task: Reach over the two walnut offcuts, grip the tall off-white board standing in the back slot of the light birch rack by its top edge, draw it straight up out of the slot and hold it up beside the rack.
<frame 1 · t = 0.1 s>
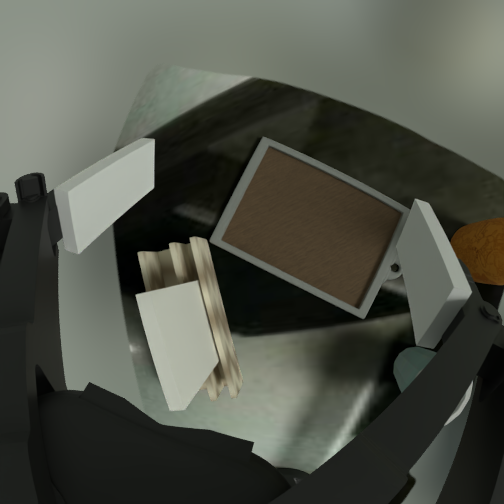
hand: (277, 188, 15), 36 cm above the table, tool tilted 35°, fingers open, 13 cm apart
rack: (195, 318, 52), on the table
picture frame: (321, 230, 51), on the table
wine bottle: (467, 252, 47), on the table
tall sheet: (211, 316, 51), point 1 cm above the table, touching rack
disposable coffee cup: (409, 365, 48), on the table
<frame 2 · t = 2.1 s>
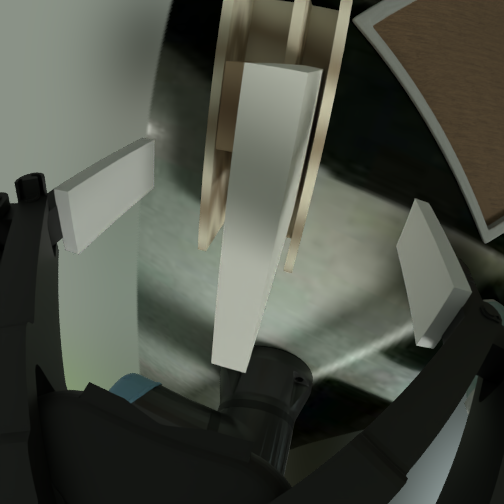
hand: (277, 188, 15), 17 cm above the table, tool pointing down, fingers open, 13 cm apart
rack: (273, 119, 29), on the table
tall sheet: (303, 128, 28), point 1 cm above the table, touching rack
disposable coffee cup: (480, 316, 36), on the table
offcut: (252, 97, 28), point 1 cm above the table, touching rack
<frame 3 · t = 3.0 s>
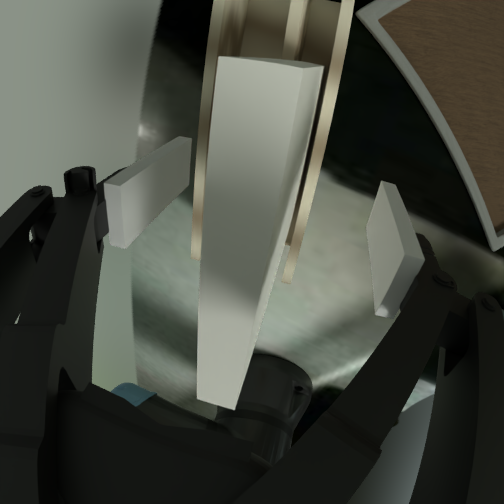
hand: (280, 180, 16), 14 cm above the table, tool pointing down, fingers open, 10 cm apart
rack: (271, 120, 28), on the table
tall sheet: (303, 129, 26), point 1 cm above the table, touching rack
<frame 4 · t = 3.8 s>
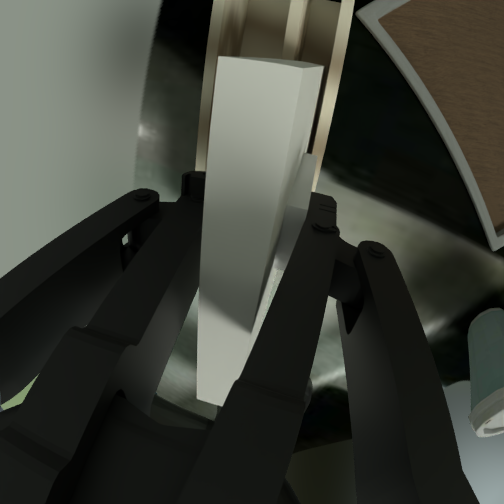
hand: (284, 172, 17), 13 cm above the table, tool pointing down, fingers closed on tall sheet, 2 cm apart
rack: (271, 120, 28), on the table
tall sheet: (303, 129, 26), point 1 cm above the table, touching gripper, rack
disposable coffee cup: (486, 324, 34), on the table
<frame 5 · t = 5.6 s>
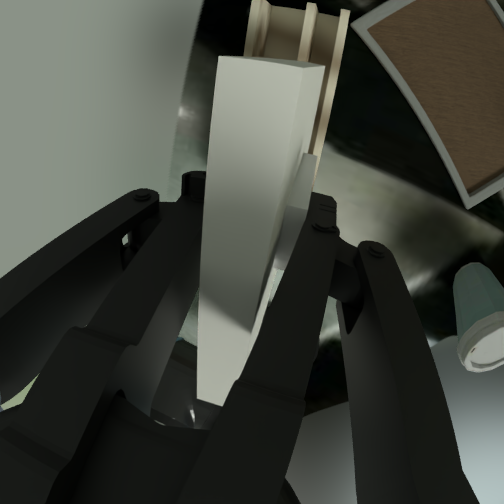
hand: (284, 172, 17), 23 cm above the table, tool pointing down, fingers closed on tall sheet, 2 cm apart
rack: (287, 104, 35), on the table
picture frame: (478, 92, 28), on the table
tall sheet: (303, 129, 26), point 11 cm above the table, touching gripper
disposable coffee cup: (469, 278, 42), on the table
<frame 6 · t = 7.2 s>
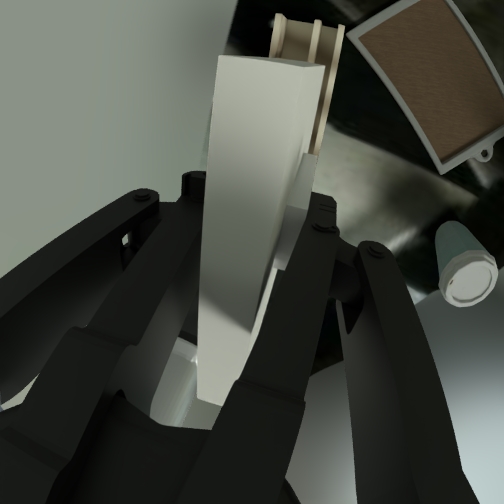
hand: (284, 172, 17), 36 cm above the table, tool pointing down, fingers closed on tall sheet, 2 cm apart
rack: (298, 94, 46), on the table
picture frame: (446, 83, 39), on the table
tall sheet: (303, 128, 26), point 24 cm above the table, touching gripper
disposable coffee cup: (449, 235, 52), on the table
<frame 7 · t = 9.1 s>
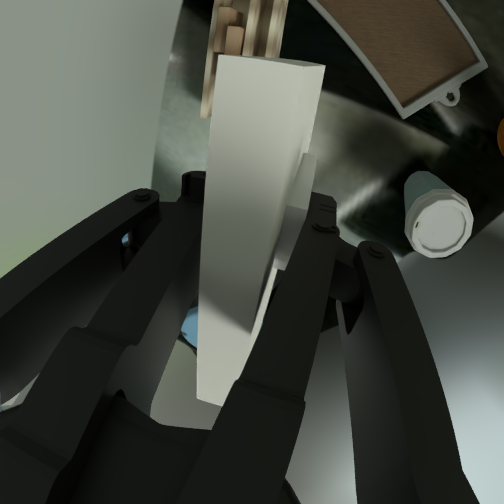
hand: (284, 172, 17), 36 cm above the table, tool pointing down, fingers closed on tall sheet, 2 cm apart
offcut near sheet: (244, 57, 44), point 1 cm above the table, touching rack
rack: (249, 45, 44), on the table
picture frame: (401, 27, 36), on the table
tall sheet: (303, 128, 26), point 25 cm above the table, touching gripper
disposable coffee cup: (420, 188, 50), on the table
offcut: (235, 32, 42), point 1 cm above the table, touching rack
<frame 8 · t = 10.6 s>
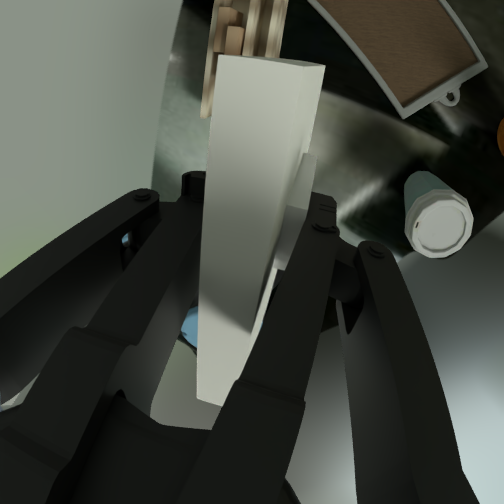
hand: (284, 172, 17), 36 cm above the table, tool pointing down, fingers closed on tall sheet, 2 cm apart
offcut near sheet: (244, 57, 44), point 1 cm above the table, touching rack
rack: (249, 45, 44), on the table
picture frame: (401, 26, 36), on the table
tall sheet: (303, 128, 26), point 25 cm above the table, touching gripper
disposable coffee cup: (420, 188, 50), on the table
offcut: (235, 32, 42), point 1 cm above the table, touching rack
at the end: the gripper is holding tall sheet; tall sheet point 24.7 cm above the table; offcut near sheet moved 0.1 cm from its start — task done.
